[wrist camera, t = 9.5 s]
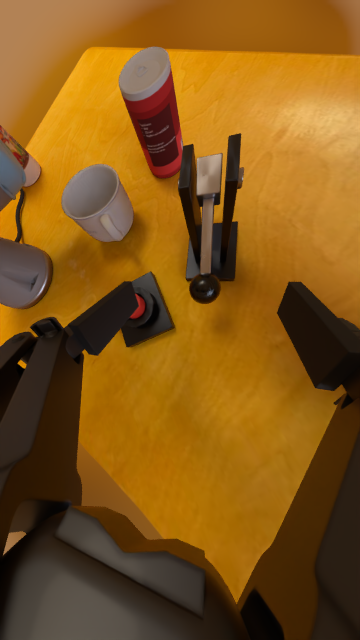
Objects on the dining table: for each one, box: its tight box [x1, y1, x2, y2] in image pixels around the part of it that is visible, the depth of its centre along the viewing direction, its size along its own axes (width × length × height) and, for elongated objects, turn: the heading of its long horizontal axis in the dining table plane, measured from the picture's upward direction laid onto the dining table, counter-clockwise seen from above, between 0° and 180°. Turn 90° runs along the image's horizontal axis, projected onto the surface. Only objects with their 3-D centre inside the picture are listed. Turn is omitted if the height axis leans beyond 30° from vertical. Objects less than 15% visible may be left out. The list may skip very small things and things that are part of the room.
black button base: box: [121, 272, 175, 347], centre depth 25 cm, size 11×9×4 cm
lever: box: [189, 153, 223, 304], centre depth 15 cm, size 13×4×4 cm, turn 174°
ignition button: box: [130, 294, 146, 319], centre depth 23 cm, size 4×4×2 cm
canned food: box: [119, 47, 183, 178], centre depth 25 cm, size 8×8×11 cm
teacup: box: [62, 164, 134, 242], centre depth 27 cm, size 14×11×8 cm
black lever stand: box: [178, 133, 244, 281], centre depth 19 cm, size 10×8×14 cm
